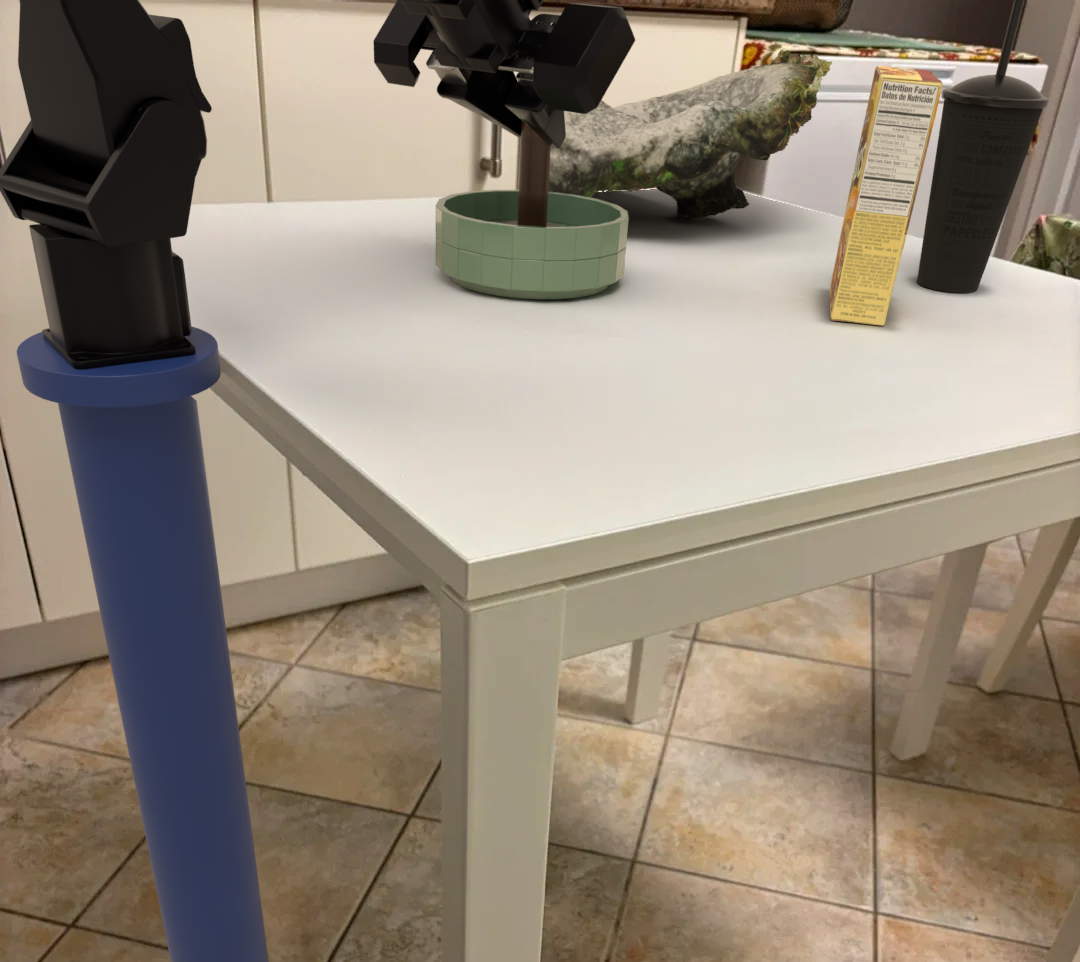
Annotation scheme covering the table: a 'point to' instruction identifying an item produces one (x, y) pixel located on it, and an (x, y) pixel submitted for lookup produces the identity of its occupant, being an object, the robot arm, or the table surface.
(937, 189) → the drinking cup
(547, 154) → the brown wooden peg
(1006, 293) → the table surface
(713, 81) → the mossy rock
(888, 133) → the candy box
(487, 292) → the mixing bowl
